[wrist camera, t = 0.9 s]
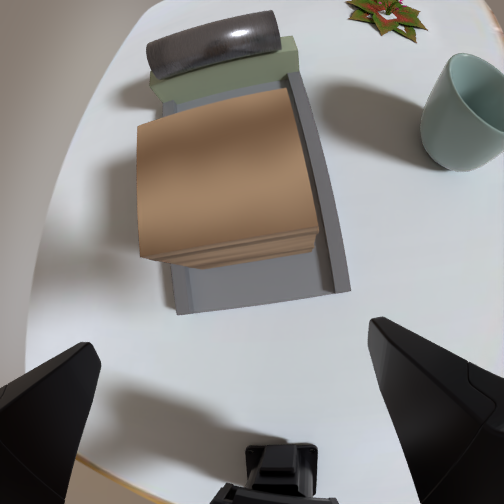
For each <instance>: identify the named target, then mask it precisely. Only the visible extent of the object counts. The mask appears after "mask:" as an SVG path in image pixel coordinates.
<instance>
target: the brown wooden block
mask: <svg viewBox="0 0 504 504" xmlns="http://www.w3.org/2000/svg"><path fill="white" fill-rule="evenodd" d="M137 213H138V233H139V248H140V257H142V258H147V259H149V260H154V261H161V262H166V263H171V264H176V265H181V266H186V267H189V268H196V269H201V270H203V269H210V268H216V267H222V266H229V265H235V264H241V263H247V262H254V261H260V260H266V259H272V258H279V257H285V256H291V255H297V254H303V253H309V252H312V249H314V241H315V238H316V234H318V233H319V226H318V221H317V216H316V210H315V205H314V200H313V196H312V191H311V186H310V181H309V177H308V172H307V168H306V163H305V159H304V154H303V150H302V146H301V142H300V138H299V134H298V130H297V126H296V122H295V118H294V114H293V110H292V106H291V102H290V99H289V95H288V92H287V88H282V89H276V90H271V91H265V92H260V93H255V94H250V95H245V96H240V97H236V98H231V99H227V100H223V101H219V102H215V103H211V104H207V105H203V106H200V107H196V108H192V109H189V110H186V111H182V112H179V113H175V114H172V115H169V116H166V117H163V118H160V119H157V120H154V121H151V122H148V123H145V124H142V125H139V126H138V127H137Z"/></svg>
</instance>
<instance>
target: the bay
mask: <svg viewBox="0 0 504 504" xmlns="http://www.w3.org/2000/svg"><path fill="white" fill-rule="evenodd" d="M146 54H147V60H148V63H149V66H150V68H151V70H152V71H150V85H149V86H150V88H151V89H152V90H153V91H154V93H155V94H156V95H157V96H158V98H159V99H160V100H161V102H162V103H163V117H166V116H169V115H172V114H175V113H179V112H182V111H186V110H189V109H192V108H196V107H200V106H203V105H207V104H211V103H215V102H219V101H223V100H227V99H231V98H236V97H240V96H245V95H250V94H255V93H260V92H265V91H271V90H276V89H282V88H287V92H288V95H289V99H290V102H291V106H292V110H293V114H294V118H295V122H296V126H297V130H298V134H299V138H300V142H301V146H302V150H303V154H304V159H305V163H306V168H307V172H308V177H309V181H310V186H311V191H312V196H313V200H314V205H315V210H316V216H317V221H318V226H319V233H318V234H316V238H315V241H314V249H312V252H309V253H303V254H297V255H291V256H285V257H279V258H272V259H266V260H260V261H254V262H247V263H241V264H235V265H229V266H222V267H216V268H210V269H203V270H201V269H196V268H189V267H186V266H181V265H176V264H171V273H172V281H173V290H174V298H175V305H176V313H177V315H185V314H193V313H200V312H209V311H217V310H226V309H234V308H242V307H249V306H257V305H264V304H271V303H278V302H285V301H291V300H298V299H304V298H310V297H316V296H322V295H328V294H334V293H335V294H337V293H343V292H348V291H351V287H350V280H349V274H348V268H347V262H346V256H345V250H344V245H343V239H342V234H341V229H340V224H339V219H338V214H337V209H336V204H335V200H334V195H333V191H332V186H331V182H330V178H329V173H328V169H327V165H326V161H325V157H324V153H323V149H322V146H321V142H320V138H319V135H318V131H317V127H316V124H315V120H314V117H313V113H312V110H311V107H310V103H309V100H308V97H307V94H306V90H305V87H304V84H303V81H302V78H301V75H300V72H299V58H298V49H297V46H296V44H295V41H294V38H293V36H286V37H280V34H279V29H278V25H277V22H276V18H275V15H274V13H273V11H272V10H269V11H262V12H257V13H251V14H246V15H241V16H236V17H232V18H227V19H223V20H219V21H215V22H211V23H208V24H204V25H200V26H197V27H194V28H190V29H187V30H184V31H181V32H178V33H175V34H172V35H169V36H166V37H163V38H160V39H158V40H155V41H152V42H150V43H148V44H147V47H146Z"/></svg>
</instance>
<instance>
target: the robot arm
mask: <svg viewBox="0 0 504 504" xmlns="http://www.w3.org/2000/svg"><path fill="white" fill-rule="evenodd" d="M368 349H369V352H370V356H371V359H372V363H373V366H374V370H375V374H376V378H377V381H378V385H379V388H380V391H381V394H382V396H383V399H384V402H385V404H386V407H387V409H388V412H389V414H390V417H391V420H392V422H393V425H394V427H395V430H396V433H397V436H398V438H399V441H400V444H401V447H402V449H403V452H404V455H405V458H406V461H407V464H408V467H409V470H410V473H411V476H412V479H413V482H414V485H415V488H416V491H417V494H418V498H419V501H420V503H422V504H504V378H502V377H500V376H497V375H495V374H493V373H491V372H489V371H487V370H485V369H483V368H480V367H478V366H477V365H475V364H473V363H471V362H468V361H467V360H465V359H463V358H461V357H459V356H457V355H456V354H454V353H452V352H450V351H448V350H446V349H444V348H442V347H440V346H438V345H437V344H435V343H433V342H431V341H429V340H427V339H425V338H423V337H421V336H419V335H418V334H416V333H414V332H412V331H410V330H408V329H406V328H404V327H402V326H400V325H398V324H397V323H395V322H393V321H391V320H389V319H387V318H385V317H377V318H372V319H371V320H370V322H369V331H368ZM100 370H101V361H100V359H99V357H98V355H97V353H96V351H95V349H94V346H93V345H92V344H91V343H90V342H80V343H78V344H76V345H74V346H73V347H71V348H69V349H67V350H66V351H64V352H62V353H61V354H59V355H57V356H55V357H54V358H52V359H50V360H48V361H47V362H45V363H43V364H41V365H40V366H38V367H36V368H34V369H33V370H31V371H29V372H27V373H26V374H24V375H23V376H21V377H19V378H17V379H15V380H14V381H12V382H10V383H8V385H5V386H3V387H1V388H0V504H64V503H65V500H64V499H65V497H66V493H67V489H68V485H69V480H70V476H71V473H72V468H73V465H74V461H75V458H76V454H77V450H78V447H79V444H80V440H81V437H82V434H83V430H84V427H85V424H86V421H87V418H88V415H89V412H90V409H91V405H92V402H93V398H94V394H95V390H96V386H97V382H98V378H99V374H100ZM311 449H314V451H310V450H311ZM249 450H253V452H250V451H249ZM245 454H246V466H247V477H248V482H247V484H246V487H245V488H244V487H239V486H234V485H233V484H231V483H226V484H225V485H224V487H223V488H222V487H221V489H220V490H219V491H218V493H217V494H216V496H215V497H214V498H213V500H212V501H211V502H210V504H339V503H338V501H337V499H336V498H329V499H326V498H313V496H314V495H315V494H316V482H317V459H318V448H317V447H316V446H315V445H303V446H295V445H267V446H248V447H247V448H246V451H245Z"/></svg>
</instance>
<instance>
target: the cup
mask: <svg viewBox="0 0 504 504" xmlns="http://www.w3.org/2000/svg"><path fill="white" fill-rule="evenodd" d="M420 134H421V140H422V143H423V146H424V148H425V150H426V152H427V153H428V154H429V156H430V157H431V158H432V159H433V160H434V161H435V162H437V163H438V164H439V165H441V166H443V167H444V168H447V169H449V170H452V171H457V172H468V171H472V170H474V169H477V168H479V167H482V166H483V165H485V164H487V163H488V162H490V161H491V160H493V159H494V158H496V157H497V156H498V155H500V154H501V153H502V152H504V75H503V74H502V73H501V72H500V71H499V70H498V69H497V68H495V67H494V66H493V65H491V64H490V63H488V62H486V61H485V60H483V59H481V58H479V57H476V56H474V55H471V54H466V53H458V54H455V55H453V56H452V57H451V58H450V59H449V60H448V62H447V63H446V65H445V66H444V68H443V70H442V72H441V74H440V76H439V77H438V79H437V81H436V83H435V85H434V87H433V89H432V91H431V93H430V95H429V97H428V99H427V102H426V104H425V106H424V109H423V112H422V117H421V122H420Z"/></svg>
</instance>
